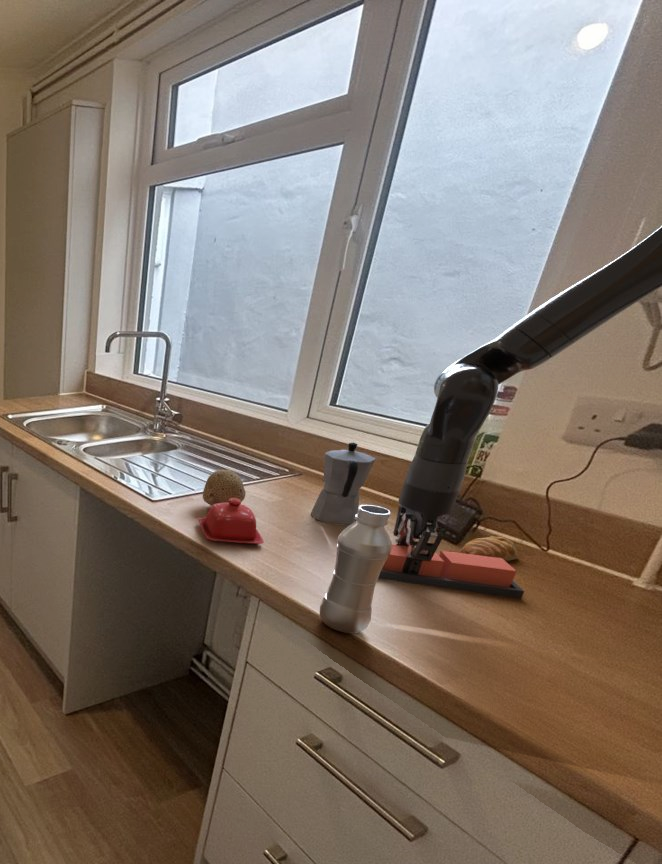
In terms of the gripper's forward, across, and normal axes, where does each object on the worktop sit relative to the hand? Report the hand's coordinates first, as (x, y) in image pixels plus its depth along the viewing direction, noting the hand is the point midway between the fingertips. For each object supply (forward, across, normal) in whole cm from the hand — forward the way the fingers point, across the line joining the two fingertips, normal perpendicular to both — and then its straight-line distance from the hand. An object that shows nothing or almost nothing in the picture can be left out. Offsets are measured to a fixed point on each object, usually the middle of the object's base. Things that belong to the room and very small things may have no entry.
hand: (403, 568), depth 97 cm
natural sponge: (+1, +22, +30) cm, 38 cm away
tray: (+1, 0, -4) cm, 5 cm away
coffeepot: (+1, +24, +6) cm, 25 cm away
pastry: (+1, +13, -18) cm, 22 cm away
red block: (0, 0, -10) cm, 10 cm away
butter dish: (+1, +7, +30) cm, 30 cm away
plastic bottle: (+1, -23, +14) cm, 27 cm away
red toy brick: (0, 0, 0) cm, 0 cm away
